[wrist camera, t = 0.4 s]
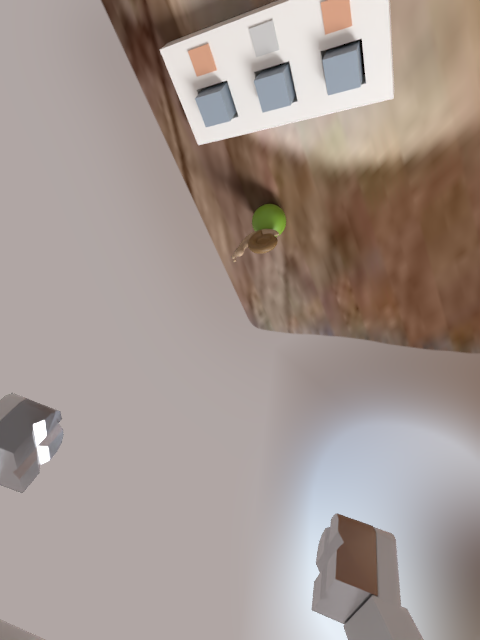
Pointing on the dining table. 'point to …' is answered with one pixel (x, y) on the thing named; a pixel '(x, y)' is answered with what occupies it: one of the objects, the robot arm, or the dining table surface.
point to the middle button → (275, 87)
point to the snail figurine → (263, 230)
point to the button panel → (282, 61)
